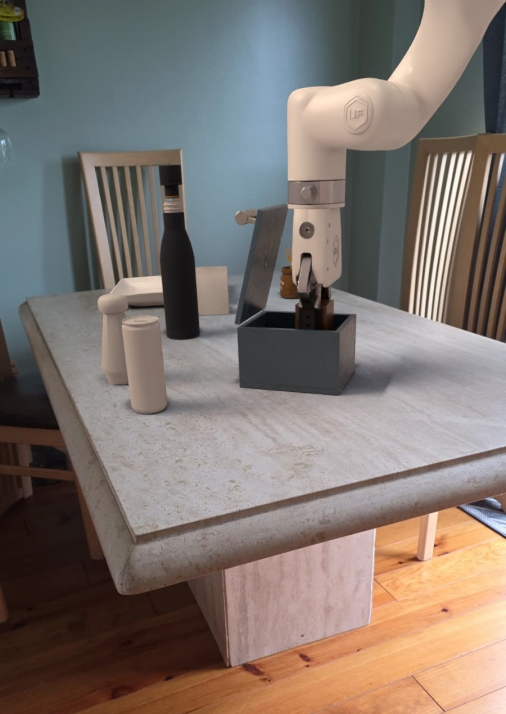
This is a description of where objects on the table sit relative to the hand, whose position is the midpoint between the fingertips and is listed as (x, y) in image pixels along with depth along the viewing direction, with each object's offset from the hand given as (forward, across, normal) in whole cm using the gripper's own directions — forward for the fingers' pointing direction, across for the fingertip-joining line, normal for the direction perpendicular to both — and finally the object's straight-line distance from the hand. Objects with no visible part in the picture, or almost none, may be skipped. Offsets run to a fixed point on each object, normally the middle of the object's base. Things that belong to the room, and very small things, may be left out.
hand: (315, 331), depth 89 cm
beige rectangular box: (+8, +41, +33) cm, 53 cm away
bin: (+7, 0, +2) cm, 8 cm away
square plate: (+8, +56, +51) cm, 76 cm away
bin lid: (-9, 0, +7) cm, 12 cm away
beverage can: (+8, -17, +18) cm, 26 cm away
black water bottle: (+8, +21, +31) cm, 39 cm away
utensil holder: (+8, +62, +21) cm, 66 cm away
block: (0, 0, 0) cm, 0 cm away
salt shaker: (+8, -7, +28) cm, 30 cm away
